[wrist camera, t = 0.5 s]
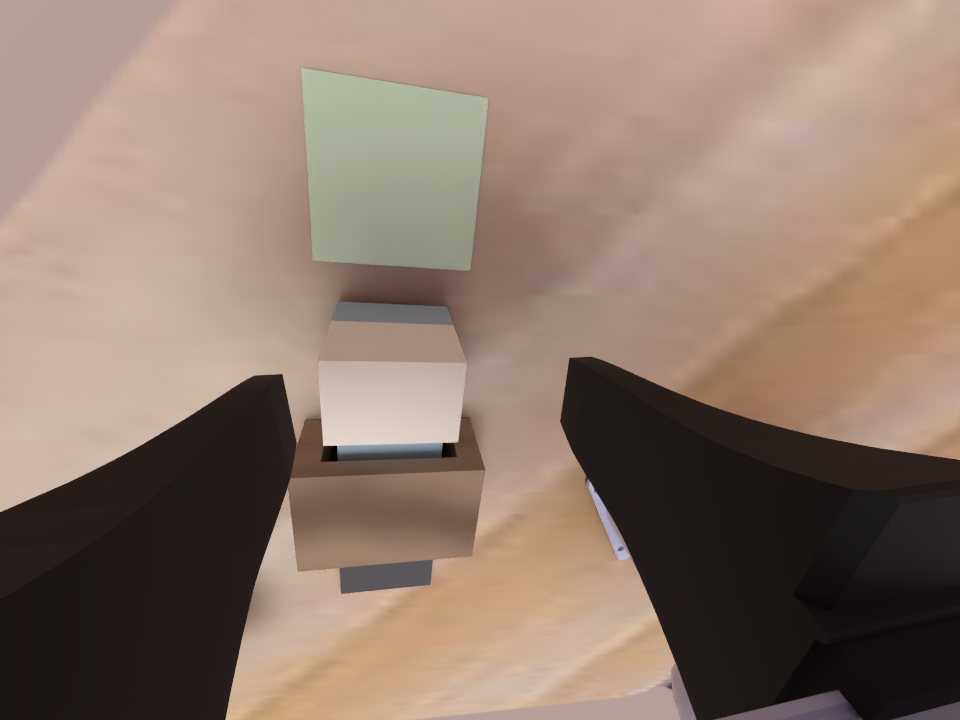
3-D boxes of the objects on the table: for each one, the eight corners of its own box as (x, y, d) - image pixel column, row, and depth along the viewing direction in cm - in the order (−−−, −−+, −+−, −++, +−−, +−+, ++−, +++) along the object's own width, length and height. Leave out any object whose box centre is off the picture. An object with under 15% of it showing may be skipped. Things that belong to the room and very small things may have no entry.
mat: (469, 269, 20) (470, 271, 19) (313, 259, 18) (312, 260, 18) (487, 98, 17) (488, 98, 16) (302, 68, 15) (300, 67, 15)
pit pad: (429, 581, 29) (430, 584, 29) (341, 590, 28) (341, 593, 28) (435, 520, 27) (436, 523, 27) (338, 527, 25) (337, 530, 25)
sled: (429, 514, 26) (439, 607, 21) (346, 520, 25) (334, 619, 20) (446, 306, 20) (467, 363, 15) (338, 301, 19) (318, 360, 14)
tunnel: (460, 496, 26) (471, 556, 22) (312, 504, 24) (298, 571, 20) (469, 417, 24) (485, 470, 20) (305, 419, 22) (287, 478, 18)
